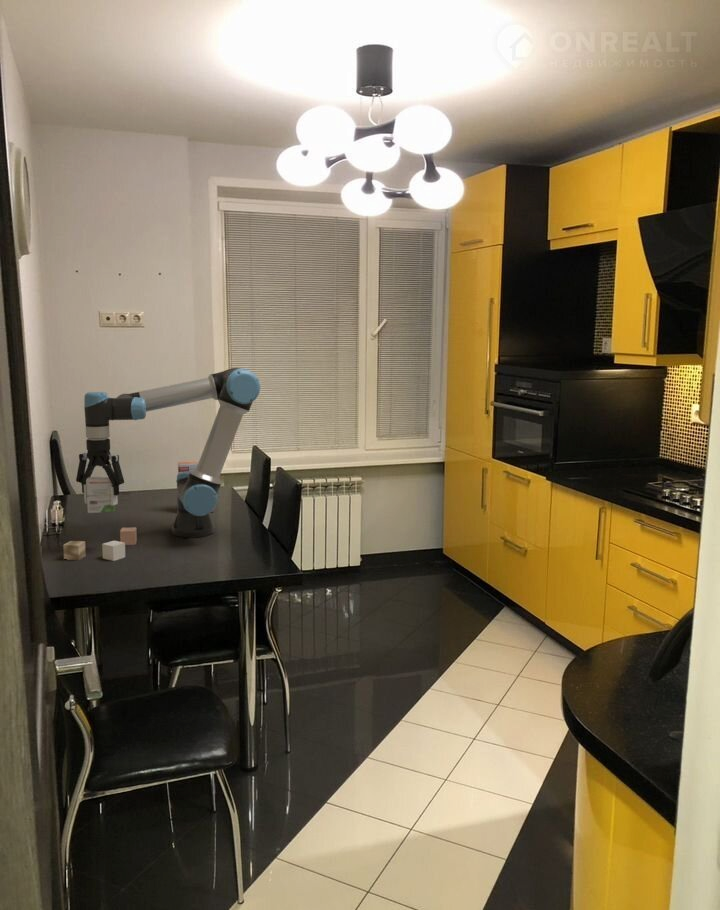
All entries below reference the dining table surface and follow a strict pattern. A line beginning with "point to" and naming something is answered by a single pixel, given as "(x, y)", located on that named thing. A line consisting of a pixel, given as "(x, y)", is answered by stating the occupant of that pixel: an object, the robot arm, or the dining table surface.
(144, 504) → the dining table surface
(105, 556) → the off-white cube
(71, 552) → the maple cube
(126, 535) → the terracotta cube
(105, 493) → the ink box
